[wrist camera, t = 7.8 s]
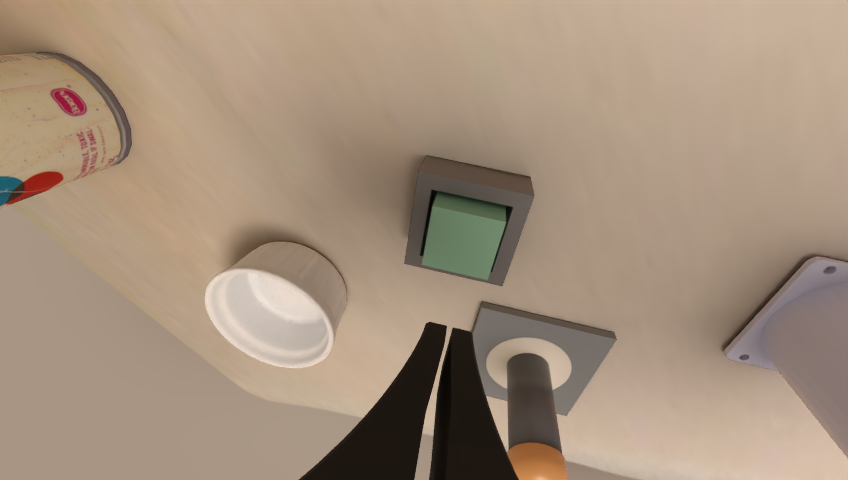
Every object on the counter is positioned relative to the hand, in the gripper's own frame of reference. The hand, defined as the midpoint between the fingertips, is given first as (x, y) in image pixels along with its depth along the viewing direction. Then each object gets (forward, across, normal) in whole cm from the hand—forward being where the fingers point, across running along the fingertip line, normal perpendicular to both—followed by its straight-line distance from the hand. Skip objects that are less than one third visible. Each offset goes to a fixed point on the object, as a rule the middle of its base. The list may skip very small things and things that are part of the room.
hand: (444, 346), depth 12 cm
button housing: (+10, 0, 0) cm, 10 cm away
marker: (+10, -7, +11) cm, 16 cm away
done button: (+9, 0, 0) cm, 9 cm away
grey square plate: (+10, -7, +11) cm, 17 cm away
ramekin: (+11, +11, +9) cm, 18 cm away
